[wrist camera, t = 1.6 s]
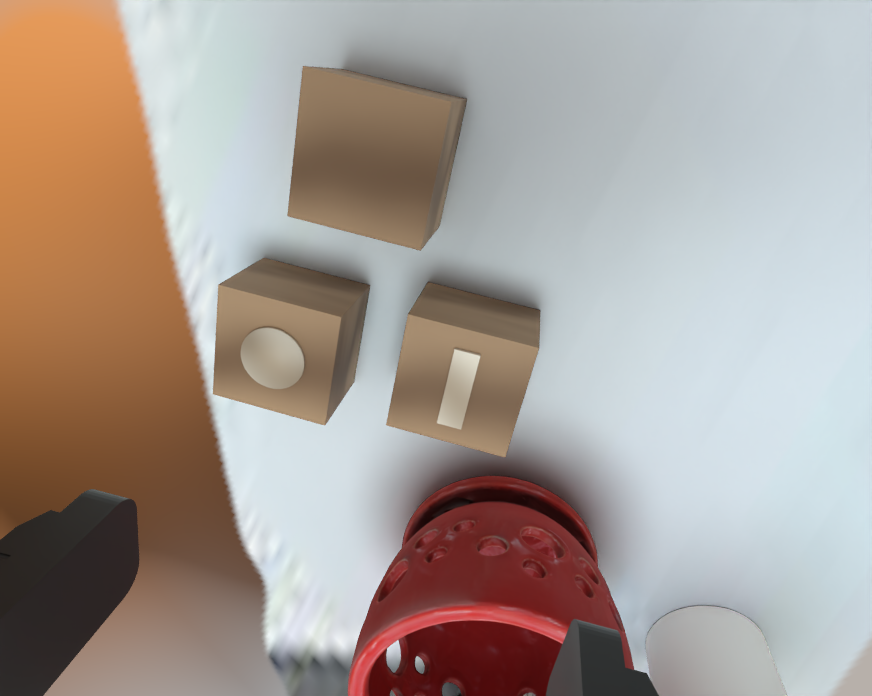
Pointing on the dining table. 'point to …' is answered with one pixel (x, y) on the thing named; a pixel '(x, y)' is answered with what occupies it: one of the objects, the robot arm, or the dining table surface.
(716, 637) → the cylindrical container
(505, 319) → the marked walnut block bar
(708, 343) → the dining table surface
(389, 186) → the plain walnut block
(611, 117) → the dining table surface
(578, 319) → the dining table surface
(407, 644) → the plant pot
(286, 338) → the cube with circle marking
